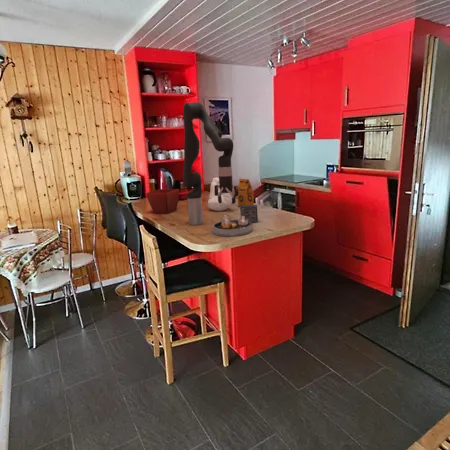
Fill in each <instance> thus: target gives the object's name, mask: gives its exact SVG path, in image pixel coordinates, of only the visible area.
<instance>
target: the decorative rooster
mask: <svg viewBox="0 0 450 450" xmlns="http://www.w3.org/2000/svg"><path fill="white" fill-rule="evenodd" d="M215 185H220V184H219V177H213V178H212V180H211V183H210V187H209V188H210V193H209V196H208V201H207V207H208V208H209V209H210V210H212V211H215V212H217V211H218V212H220V211H221V212H222V211H227V209H228V208H229V207H230V205H232V196H231V195H230V194H229V193H222V195H221V197H222V203H219V202H218V196H215V191H214V186H215ZM219 191H220V188H219V189H218V193H219Z"/></svg>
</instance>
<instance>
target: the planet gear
mask: <svg viewBox="0 0 450 450" xmlns="http://www.w3.org/2000/svg"><path fill="white" fill-rule="evenodd" d="M221 227H222V229H233V226H232V223H231V222H229V224H225V223H222V224H221Z"/></svg>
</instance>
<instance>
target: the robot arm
mask: <svg viewBox="0 0 450 450" xmlns="http://www.w3.org/2000/svg"><path fill="white" fill-rule="evenodd" d="M182 116H183V129H184V134H183V135H184V143H183V145H184V146H183V153H184V154H183V157H184V159H183V172H182V183H183V186H184V188H186V189H188V188H192V190H191V191H189V192H188V193H186V200H187V202H186V203H187V213H188V214H187V216H188V223H189V225H190V226H198V225H202V224H204V213H203V203H202V202H203V201H202V200H203V199H202V178H201V174H200V172H198V171H193V172H192V167H193V165H194V164H195V162H196V160H197V158H198V156H199V153H200V140H199V137H198V135H197V134H196V131H195V129H194V125H193V121H194V120H200V121H201V122H202V123H203V131H204V133H205V134H206V136H207V137H208V138H209V139H210V141H211V143H212V146H213V147H214V149H215V150H216V151H217V152H220V153H221V152H223V154H222V155H221V156H218V160H217V161H218V178H219V184H220V185H215V186H214V191H215V196H218V202H219V203H222V197H221V195H222V193H229V194H230V195H231V196H232V203H231V205H234V204H236V203H237V201H236V199H237V198H236V197H238V195H239V193H238V185H233V169H232V168H233V167H232V157H233V153H234V152H233V151H234V142H233V139H232V138H231V137H223V133H222V131H221V130H220V129H219V128H218V126H217V125H215V123H214V122H213V120H212V119H211V117H210V116H209V114H208V112H207V110H206V108H205V107H204V106H203V104H202V103H201V102H197V101H195V102H194V101H193V102H185V103H184V105H183V108H182ZM219 188H220V191H219V193H218V189H219Z"/></svg>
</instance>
